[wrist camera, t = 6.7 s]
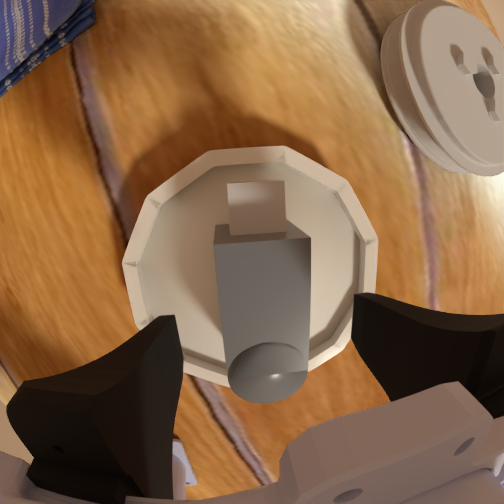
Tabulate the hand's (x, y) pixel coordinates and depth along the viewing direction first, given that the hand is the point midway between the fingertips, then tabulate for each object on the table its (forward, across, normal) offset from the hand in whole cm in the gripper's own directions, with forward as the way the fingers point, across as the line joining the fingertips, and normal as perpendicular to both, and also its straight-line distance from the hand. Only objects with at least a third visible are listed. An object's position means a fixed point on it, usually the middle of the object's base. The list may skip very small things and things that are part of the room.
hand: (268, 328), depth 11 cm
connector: (+5, 0, 0) cm, 5 cm away
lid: (+7, -15, -12) cm, 21 cm away
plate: (+7, 0, 0) cm, 7 cm away
